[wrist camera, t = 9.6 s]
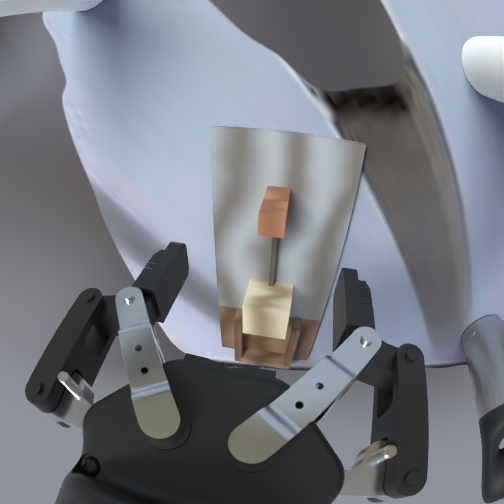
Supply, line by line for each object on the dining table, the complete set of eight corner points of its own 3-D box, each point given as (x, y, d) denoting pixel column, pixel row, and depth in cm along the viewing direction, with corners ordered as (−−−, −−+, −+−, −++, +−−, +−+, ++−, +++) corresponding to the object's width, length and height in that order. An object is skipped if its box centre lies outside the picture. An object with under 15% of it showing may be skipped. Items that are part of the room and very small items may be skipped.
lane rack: (364, 143, 26) (370, 152, 24) (307, 356, 50) (305, 371, 48) (212, 126, 28) (202, 133, 26) (223, 342, 52) (218, 357, 50)
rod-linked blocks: (306, 190, 30) (305, 218, 25) (288, 312, 42) (284, 345, 38) (252, 184, 31) (239, 210, 26) (249, 306, 43) (241, 338, 39)
